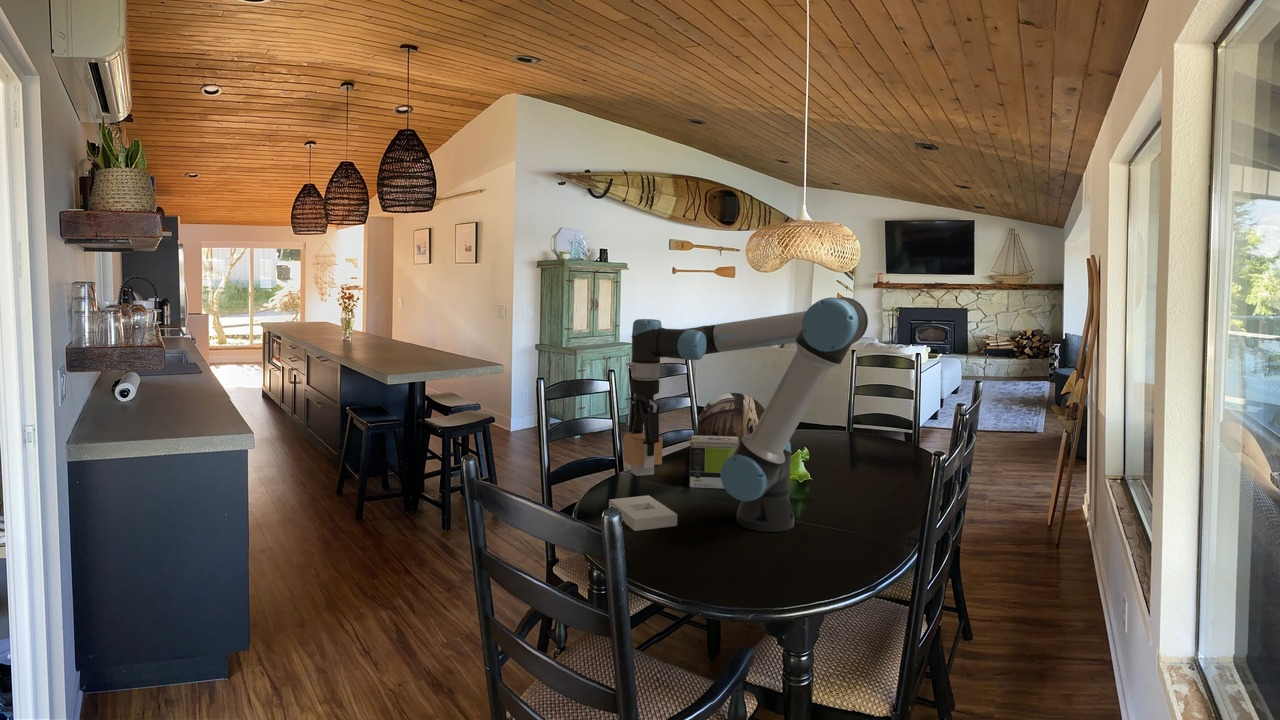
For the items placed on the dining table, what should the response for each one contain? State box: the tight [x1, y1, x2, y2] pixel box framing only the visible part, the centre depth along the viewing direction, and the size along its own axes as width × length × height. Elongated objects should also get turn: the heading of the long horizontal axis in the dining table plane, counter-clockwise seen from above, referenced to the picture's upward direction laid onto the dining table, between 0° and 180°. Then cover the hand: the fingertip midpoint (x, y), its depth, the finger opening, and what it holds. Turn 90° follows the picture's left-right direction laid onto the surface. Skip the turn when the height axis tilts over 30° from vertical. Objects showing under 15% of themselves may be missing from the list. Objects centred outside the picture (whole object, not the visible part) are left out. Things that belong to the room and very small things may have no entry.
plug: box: [623, 432, 663, 477], centre depth 203 cm, size 7×8×10 cm
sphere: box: [696, 392, 766, 443], centre depth 261 cm, size 25×25×25 cm
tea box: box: [689, 435, 739, 490], centre depth 237 cm, size 15×10×15 cm, turn 84°
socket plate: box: [608, 495, 678, 532], centre depth 205 cm, size 18×12×3 cm, turn 24°
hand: (642, 463), depth 203 cm, fingers closed on plug, 7 cm apart
